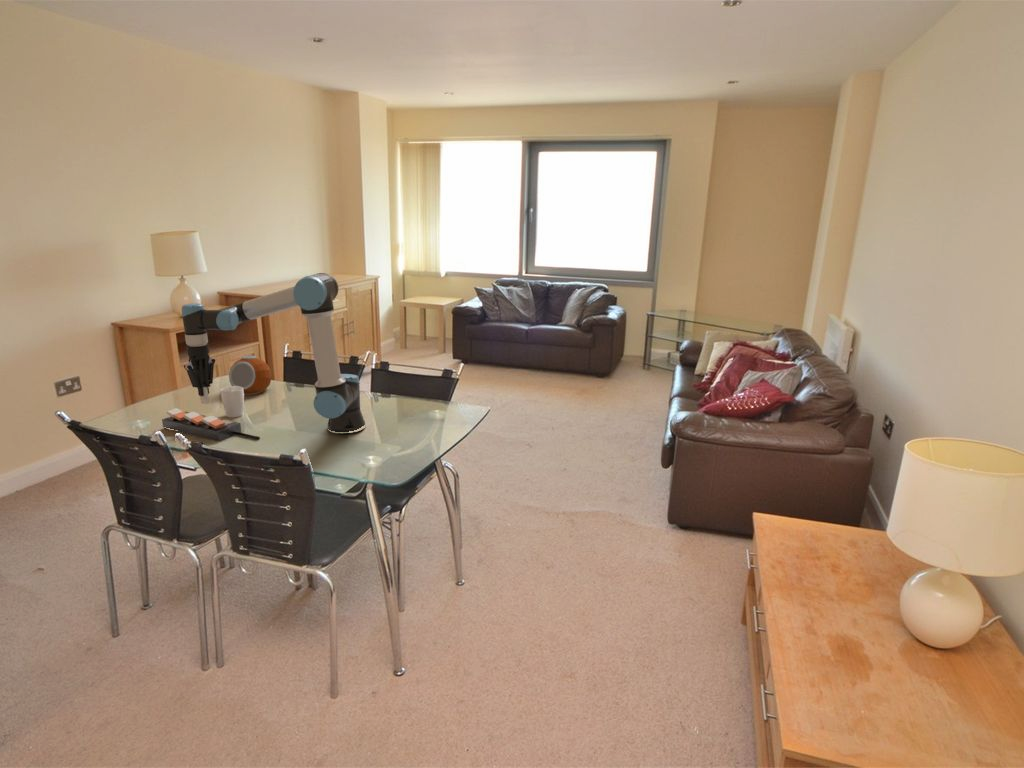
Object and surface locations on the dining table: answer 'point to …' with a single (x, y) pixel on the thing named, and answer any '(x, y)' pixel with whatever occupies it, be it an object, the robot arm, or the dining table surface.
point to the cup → (233, 400)
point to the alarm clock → (250, 375)
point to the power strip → (206, 429)
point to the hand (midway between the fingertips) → (205, 402)
